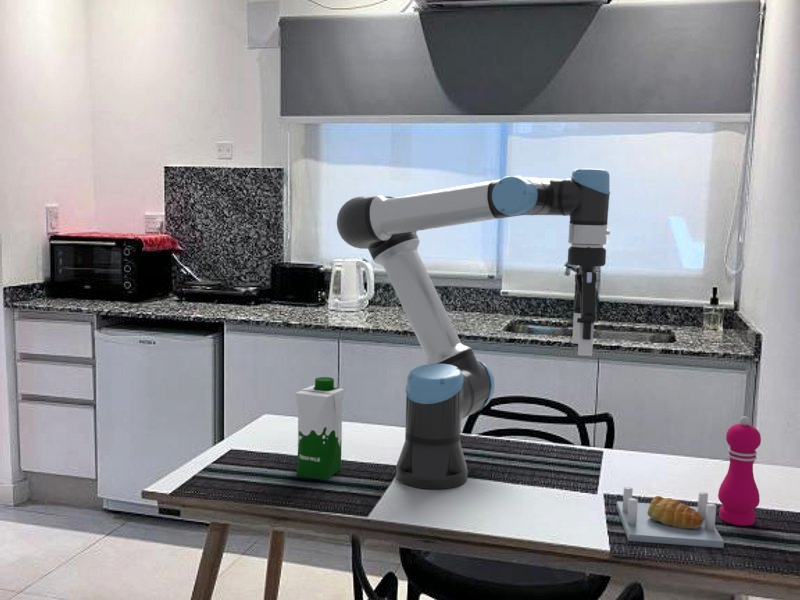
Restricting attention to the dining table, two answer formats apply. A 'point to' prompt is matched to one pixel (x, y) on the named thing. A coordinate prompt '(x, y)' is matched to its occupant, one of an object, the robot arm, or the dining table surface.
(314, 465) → the milk carton
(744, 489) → the pepper mill
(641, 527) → the tray
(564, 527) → the dining table surface
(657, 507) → the pastry
